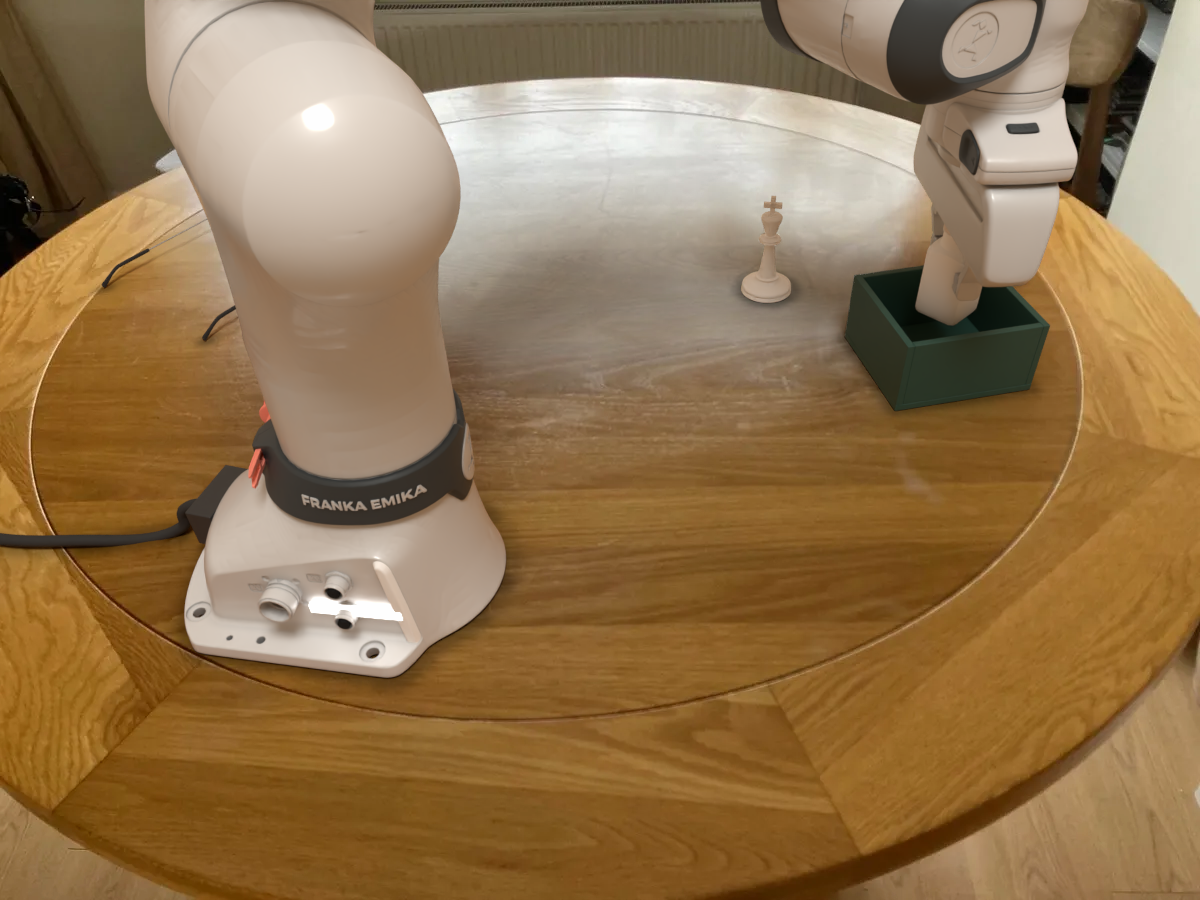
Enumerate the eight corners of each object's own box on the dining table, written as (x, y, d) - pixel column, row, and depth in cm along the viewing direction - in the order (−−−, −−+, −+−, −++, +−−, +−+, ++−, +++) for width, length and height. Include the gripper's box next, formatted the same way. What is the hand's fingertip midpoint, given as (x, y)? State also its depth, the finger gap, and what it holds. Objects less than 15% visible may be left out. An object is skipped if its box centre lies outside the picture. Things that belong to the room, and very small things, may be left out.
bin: (894, 411, 80) (908, 347, 76) (844, 336, 89) (853, 274, 84) (1029, 389, 82) (1050, 325, 77) (967, 317, 90) (983, 256, 86)
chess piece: (789, 305, 93) (799, 211, 86) (738, 301, 94) (744, 208, 87) (792, 278, 97) (802, 186, 90) (743, 274, 97) (749, 183, 91)
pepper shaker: (952, 330, 80) (978, 227, 73) (911, 311, 82) (932, 210, 76) (978, 311, 82) (1005, 209, 75) (937, 293, 84) (960, 192, 77)
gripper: (911, 61, 78) (884, 216, 87) (992, 174, 63) (949, 347, 72) (989, 57, 78) (954, 213, 87) (1089, 170, 63) (1034, 344, 72)
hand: (952, 274), depth 79 cm, fingers closed on pepper shaker, 5 cm apart
